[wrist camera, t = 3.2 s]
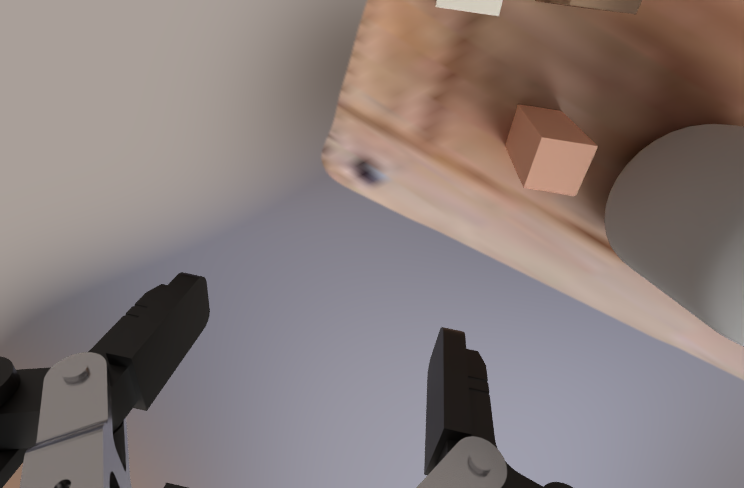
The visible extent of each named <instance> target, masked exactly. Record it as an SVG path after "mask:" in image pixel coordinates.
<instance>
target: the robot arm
mask: <svg viewBox="0 0 744 488" xmlns="http://www.w3.org/2000/svg"><path fill="white" fill-rule="evenodd" d="M209 312H210V309H209V300H208V291H207V282H206V279H205V278H204V277H202V276H197V275H192V274H188V273H183V272H182V273H179V274H178V275H177V276H176V277H175V278H174V279H173V280H172V281H171V282H170V283H169V284H168V285H164V284H161V285H159V286H157V287H156V288H154V289H152V290H150V291H148V292H147V293H145V294H144V295H143V296H142V298H140V300H138V301H137V302H136V304H135V306H133V307H132V308H131V309H130V310H129V311H128V312H127V313H126V315H125V316H123V317H122V318H121V319H120V320H119V321H118V322H117V323H116V324H115V325H114V326H113V327H112V328H111V329H110V330H109V331H108V332H107V333H106V334H105V335H104V336H103V337H102V338H101V340H100V341H99V342H98V343H97V344H96V345H95V346H94V347H93V348H92V349H91V350H90V351H89V352H84V353H78V354H74V355H71V356H68V357H66V358H64V359H63V360H61V361H59V362H58V363H56V364H55V365H54V366H52V367H51V368H38V369H22V370H16V369H15V368H14V366H13V364H12V362H11V361H10V360H9V359H7V358H4V357H0V488H2V487H3V486H4V485H5V484H6V482H7V481H8V480H9V479H10V478H11V476H12V475H13V474H14V473H15V471H16V470H17V469H18V468H19V467H20V465H21V464H22V463H23V468H22V475H21V483H20V488H132V487H131V481H130V470H129V454H128V437H127V422H126V416H127V415H128V414H129V412H130V411H131V410H132V408H136V409H141V410H145V411H147V410H148V408H149V407H150V405H151V404H152V403H153V401H154V400H155V398H156V397H157V395H158V394H159V393H160V391H161V389H162V388H163V387H164V385H165V384H166V383H167V381H168V379H169V378H170V377H171V375H172V374H173V372H174V371H175V370H176V368H177V367H178V365H179V364H180V362H181V361H182V360H183V358H184V357H185V355H186V354H187V352H188V351H189V350H190V348H191V347H192V345H193V344H194V342H195V341H196V340H197V338H198V337H199V335H200V334H201V332H202V331H203V329H204V328H205V326H206V324H207V322H208V318H209ZM487 381H488V379H487V371H486V365H485V363H484V361H483V359H482V358H481V356H480V354H479V352H478V351H474V350H469V349H466V341H465V333H464V332H462V331H458V330H453V329H448V328H443V327H442V328H441V329H440V332H439V334H438V337H437V340H436V344H435V347H434V349H433V352H432V356H431V359H430V363H429V369H428V380H427V410H426V440H425V469H424V474H425V475H428V476H427V477H426V478H425V479H424V480H423V481H422V482H421V483H420V484H419V485H418V487H417V488H573V487H571V486H569V485H567V484H564V483H560V482H552V483H549V484H547V485H545V486H544V487H543V486H541V485H539V484H537V483H535V482H533V481H532V480H530V479H528V478H526V477H525V476H523V475H521V474H520V473H518V472H516V471H515V470H514V469H513V468H511V467H510V466H509V465H508V464H507V463H506V461H505V460H504V458H503V456H502V455H501V453H500V452H499V450H498V449H497V446H496V443H495V436H494V428H493V420H492V412H491V403H490V396H489V387H488V383H487ZM164 488H187V487H183V486H179V485H174V484H170V483H166V485H165V487H164Z"/></svg>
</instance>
